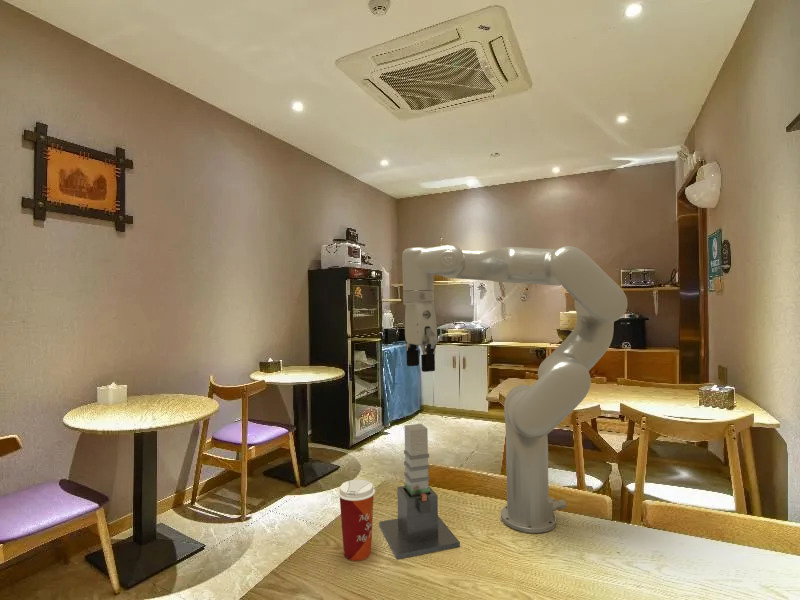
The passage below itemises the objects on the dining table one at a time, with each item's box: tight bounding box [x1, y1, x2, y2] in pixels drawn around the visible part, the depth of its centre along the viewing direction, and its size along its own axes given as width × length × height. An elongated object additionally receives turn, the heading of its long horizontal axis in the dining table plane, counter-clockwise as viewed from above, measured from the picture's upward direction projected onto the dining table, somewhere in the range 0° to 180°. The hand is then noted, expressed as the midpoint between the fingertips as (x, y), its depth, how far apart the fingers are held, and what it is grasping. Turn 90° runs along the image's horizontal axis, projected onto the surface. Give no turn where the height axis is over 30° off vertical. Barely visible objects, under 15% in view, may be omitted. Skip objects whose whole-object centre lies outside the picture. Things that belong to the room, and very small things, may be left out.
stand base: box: [378, 484, 461, 560], centre depth 97 cm, size 14×14×11 cm
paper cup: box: [337, 479, 376, 562], centre depth 91 cm, size 8×8×14 cm
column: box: [403, 423, 430, 497], centre depth 97 cm, size 4×4×18 cm
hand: (420, 368), depth 107 cm, fingers open, 9 cm apart
